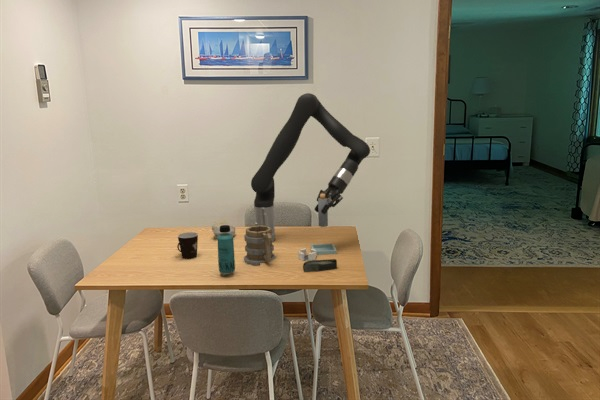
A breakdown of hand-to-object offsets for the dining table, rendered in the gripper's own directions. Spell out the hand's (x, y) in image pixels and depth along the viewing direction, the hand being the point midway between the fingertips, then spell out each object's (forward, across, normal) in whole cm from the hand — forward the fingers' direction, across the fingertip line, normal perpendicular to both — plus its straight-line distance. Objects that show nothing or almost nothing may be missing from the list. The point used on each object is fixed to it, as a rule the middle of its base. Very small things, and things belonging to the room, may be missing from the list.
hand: (319, 211), depth 202 cm
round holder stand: (+20, +3, +7) cm, 21 cm away
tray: (+12, 0, +15) cm, 19 cm away
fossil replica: (+29, -49, -2) cm, 57 cm away
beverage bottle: (+44, -4, -17) cm, 47 cm away
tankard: (+32, -7, -4) cm, 33 cm away
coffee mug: (+47, -34, -21) cm, 62 cm away
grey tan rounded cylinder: (+3, 0, +6) cm, 7 cm away
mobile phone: (+23, +17, +4) cm, 29 cm away
